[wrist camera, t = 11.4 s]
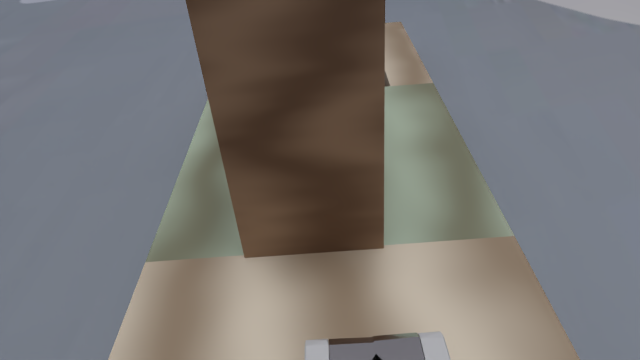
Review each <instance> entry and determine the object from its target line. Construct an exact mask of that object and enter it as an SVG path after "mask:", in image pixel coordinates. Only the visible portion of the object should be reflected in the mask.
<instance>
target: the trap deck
mask: <svg viewBox="0 0 640 360" xmlns="http://www.w3.org/2000/svg"><path fill="white" fill-rule="evenodd" d="M437 331H440V332H441V333H442V334H443V336H444V339H445V342H446V346H447V349H448V352H449V356H450V359H451V360H580V359H579V357H578V355H577V353H576V351H575V349H574V347H573V346H572V344H571V342H570V340H569V338H568V336H567V334H566V332H565V330H564V329H563V327H562V325H561V323H560V321H559V319H558V317H557V315H556V314H555V312H554V310H553V308H552V306H551V304H550V302H549V300H548V298H547V297H546V295H545V293H544V291H543V289H542V287H541V285H540V283H539V281H538V280H537V278H536V276H535V274H534V272H533V270H532V268H531V266H530V265H529V263H528V261H527V259H526V257H525V255H524V253H523V251H522V249H521V248H520V246H519V244H518V242H517V240H516V238H515V236H514V234H513V232H512V231H511V229H510V227H509V225H508V223H507V221H506V219H505V217H504V216H503V214H502V212H501V210H500V208H499V206H498V204H497V202H496V200H495V199H494V197H493V195H492V193H491V191H490V189H489V187H488V185H487V184H486V182H485V180H484V178H483V176H482V174H481V172H480V170H479V168H478V167H477V165H476V163H475V161H474V159H473V157H472V155H471V153H470V151H469V150H468V148H467V146H466V144H465V142H464V140H463V138H462V136H461V135H460V133H459V131H458V129H457V127H456V125H455V123H454V121H453V119H452V118H451V116H450V114H449V112H448V110H447V108H446V106H445V104H444V102H443V101H442V99H441V97H440V95H439V93H438V91H437V89H436V87H435V86H434V84H433V82H432V80H431V78H430V76H429V74H428V72H427V70H426V69H425V67H424V65H423V63H422V61H421V59H420V57H419V55H418V53H417V52H416V50H415V48H414V46H413V44H412V42H411V40H410V38H409V37H408V35H407V33H406V31H405V29H404V27H403V25H402V23H401V22H393V23H385V106H384V248H382V249H368V250H353V251H339V252H325V253H310V254H296V255H282V256H267V257H253V258H245V257H244V253H243V249H242V244H241V240H240V236H239V231H238V227H237V223H236V218H235V214H234V209H233V205H232V201H231V196H230V192H229V188H228V183H227V179H226V174H225V170H224V166H223V161H222V157H221V153H220V148H219V144H218V139H217V135H216V131H215V126H214V122H213V118H212V113H211V109H210V104H209V100H207V103H206V105H205V108H204V110H203V113H202V116H201V118H200V121H199V124H198V126H197V129H196V131H195V134H194V137H193V139H192V142H191V144H190V147H189V150H188V152H187V155H186V158H185V160H184V163H183V165H182V168H181V171H180V173H179V176H178V178H177V181H176V184H175V186H174V189H173V192H172V194H171V197H170V199H169V202H168V205H167V207H166V210H165V212H164V215H163V218H162V220H161V223H160V226H159V228H158V231H157V233H156V236H155V239H154V241H153V244H152V246H151V249H150V252H149V254H148V257H147V259H146V262H145V265H144V267H143V270H142V273H141V275H140V278H139V280H138V283H137V286H136V288H135V291H134V293H133V296H132V299H131V301H130V304H129V307H128V309H127V312H126V314H125V317H124V320H123V322H122V325H121V327H120V330H119V333H118V335H117V338H116V341H115V343H114V346H113V348H112V351H111V354H110V356H109V359H108V360H305V341H306V340H315V339H328V341H329V339H336V338H358V337H373V336H379V335H391V334H403V333H426V332H437Z"/></svg>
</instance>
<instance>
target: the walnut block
mask: <svg viewBox="0 0 640 360" xmlns="http://www.w3.org/2000/svg"><path fill="white" fill-rule="evenodd" d="M186 4H187V8H188V13H189V17H190V21H191V26H192V30H193V35H194V39H195V43H196V48H197V52H198V56H199V61H200V65H201V70H202V74H203V78H204V83H205V87H206V91H207V96H208V100H209V104H210V109H211V113H212V118H213V122H214V126H215V131H216V135H217V139H218V144H219V148H220V153H221V157H222V161H223V166H224V170H225V174H226V179H227V183H228V188H229V192H230V196H231V201H232V205H233V209H234V214H235V218H236V223H237V227H238V231H239V236H240V240H241V244H242V249H243V253H244V257H245V258H253V257H267V256H282V255H296V254H310V253H325V252H339V251H353V250H368V249H382V248H384V106H385V0H186Z"/></svg>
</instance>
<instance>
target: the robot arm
mask: <svg viewBox="0 0 640 360" xmlns="http://www.w3.org/2000/svg"><path fill="white" fill-rule="evenodd" d="M305 360H451V359H450V356H449V352H448V349H447V346H446V342H445V339H444V336H443V334H442V333H441V332H440V331H437V332H426V333H403V334H391V335H379V336H373V337H358V338H336V339H329V341H328V339H315V340H306V341H305Z"/></svg>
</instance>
